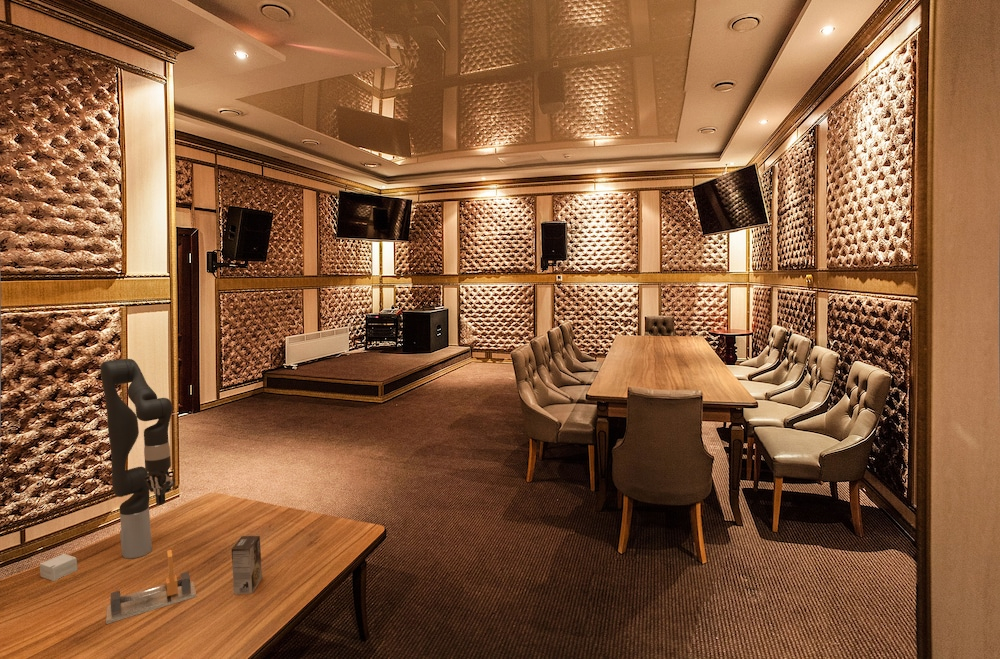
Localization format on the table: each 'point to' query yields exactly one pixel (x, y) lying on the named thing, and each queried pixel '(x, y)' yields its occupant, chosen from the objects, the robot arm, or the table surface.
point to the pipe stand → (148, 599)
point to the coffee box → (246, 564)
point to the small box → (58, 567)
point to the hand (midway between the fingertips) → (160, 503)
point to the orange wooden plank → (171, 576)
